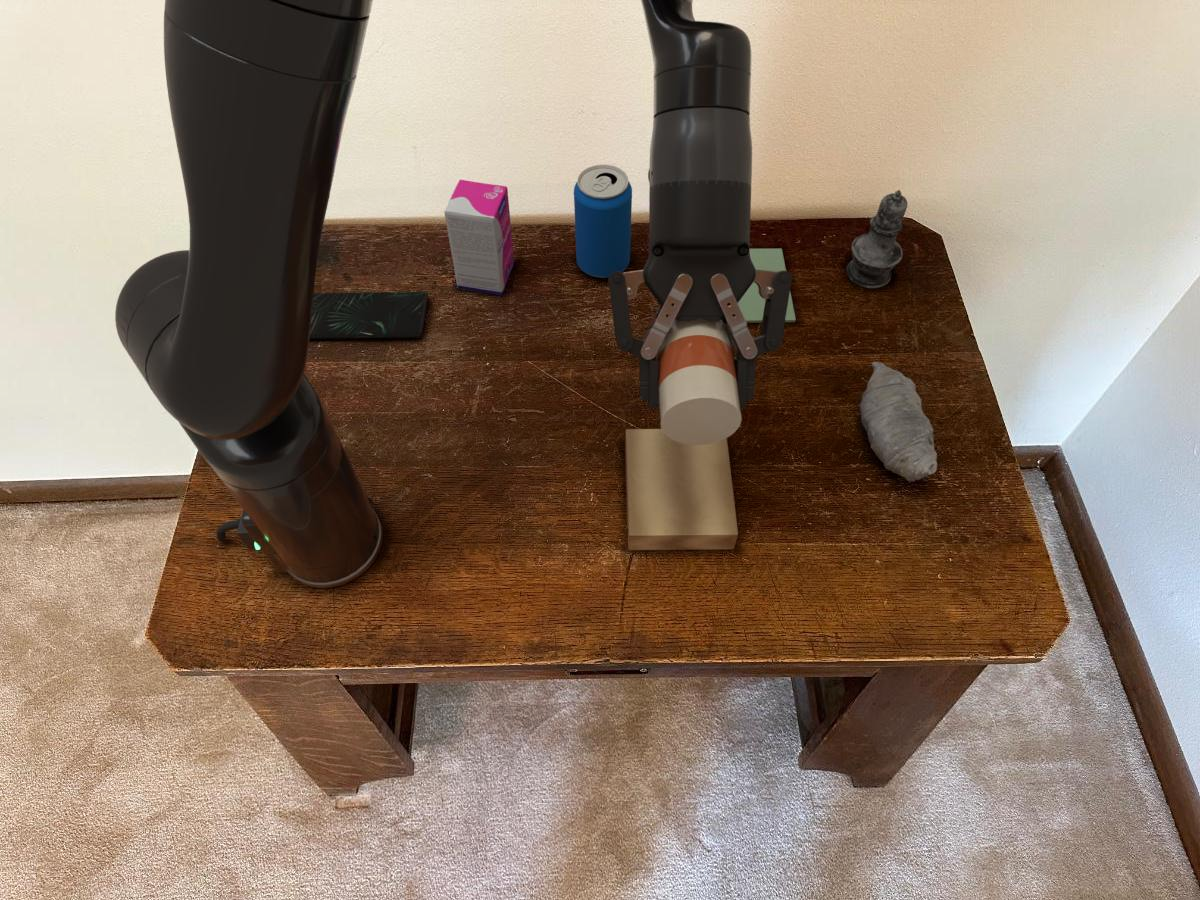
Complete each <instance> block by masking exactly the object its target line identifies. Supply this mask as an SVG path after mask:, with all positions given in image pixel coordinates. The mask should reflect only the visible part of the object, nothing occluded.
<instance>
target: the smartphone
mask: <svg viewBox="0 0 1200 900" xmlns="http://www.w3.org/2000/svg"><path fill="white" fill-rule="evenodd" d="M428 301H429V293H428V292H427V291H379V292H377V291H376V292H375V291H374V292H373V291H372V292H370V291H369V292H314V296H313V307H312V317H311V328H310V339H309V340H322V339H323V340H325V339H326V340H327V339H329V340H331V339H336V340H337V339H409V338H421V337H422V336H423V330H424V324H425V319H426V314H427V306H428Z"/></svg>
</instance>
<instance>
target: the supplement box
mask: <svg viewBox="0 0 1200 900" xmlns="http://www.w3.org/2000/svg"><path fill="white" fill-rule="evenodd" d="M508 189H509V188H508V186H506V185H500V184H492V183H484V182H479V181H473V180H466V179H459V180H458V182H457V184H456V186H455V187H454V190H453V192H452V194H451V197H450V198H449V200H448V201H447V202H448V203H447V205H446V207H445V209H444V211H443V212H444V218H445V223H446V229H447V230H446V231H447V235H448V241H449V246H450V252H451V258H452V264H453V269H454V275H455V283H456V288H457V289H458V290H464V291H473V292H478V293H486V294H489V295H490V294H491V295H496V296H497V295H498V296H503V294H504V291H505V287H506V284H507V282H508V279H509V277H510V274H511V272H512V269H513V268H514V266H515V256H514V245H513V235H512V226H511V225H512V223H511V213H510V201H509V192H508Z"/></svg>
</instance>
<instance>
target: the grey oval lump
mask: <svg viewBox="0 0 1200 900" xmlns="http://www.w3.org/2000/svg"><path fill="white" fill-rule="evenodd" d="M871 367H872V369H873V372H872V375H871V376H870V378H869V380H868V381H867V385H866V389H865V391H864V392H863V393H862V395H861V401H860V403H859V411H860V415H861V418H860V421H861V425H862V426H863V427H864V430H865V431H866V435H867V439H868V440H867V441H868V443H869V444H870V449H871V450H872V451H873V452H874V454H875V456H877V458H878V459H879V460H880V462H881V463H883V467H884V469H885V470H887V471H890V472H892V473H893V474H897V475H898V476H900V477H902V478H904V479H905V480H906V481H908V482H915V481H919V480H921V479H923V478H926V477H928V476H930V475H932V474H933V475H934V474H935V473H936V472H937V468H938V461H937V458H938V453H937V451H936V450H935V442H934V440H935V439H934V428H933V426H932V424H931V421H930V419H929V418H928V417H927V416H926V414H925V413H924V411H923V409H922V399H921V396H920V395H919V394H918V393H917V390H916V384H915V383H914V381H913V380H912V379H910V377H907V376H905V375H904V374H903V373H902V372H900V371H898V370H895V369H893V368H890V367H889V366H886V365H885V364H884V363H883V362H880V361H872V362H871Z"/></svg>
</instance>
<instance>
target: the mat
mask: <svg viewBox="0 0 1200 900" xmlns="http://www.w3.org/2000/svg"><path fill="white" fill-rule="evenodd" d="M750 258H751V261H752V263H753V265H754V267H755V269H758V270H766V271H774V272H776V271H787V268H786V264H785V258H784V253H783V248H782V247H781V248H780V247H779V248H778V247H777V248H750ZM765 300H766V299H764V298H762V297H761V296H760V295H759V288H758V285H757V284H756V283H754V282H753V283H752V285H751V286H750V287H749V289H748V290H747V291H746V293H745V294H744V295H743V297H742V298H741V299H740V301H739V302H738V306H739V308H740V310H741V312H742V314H743V316H744V319H745V321H746V323H747V324H749V323H750V324H752V323H755V324H756V323H757V324H758V323H759V324H762V319H763V313H764V306H765ZM794 308H795V307H794V303H793V298H792V293H791V292H790V293H789V300H788V306H787V312H786V318H785V323H796V322H797V321H796V320H797V318H796V313H795V309H794Z"/></svg>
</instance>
